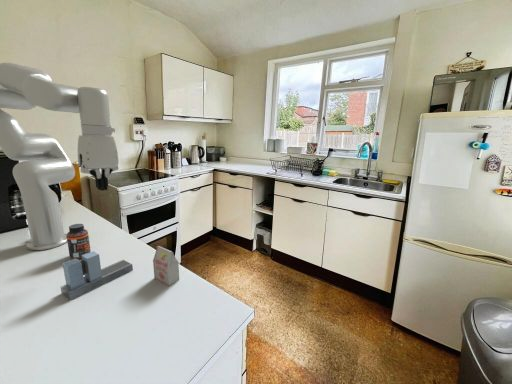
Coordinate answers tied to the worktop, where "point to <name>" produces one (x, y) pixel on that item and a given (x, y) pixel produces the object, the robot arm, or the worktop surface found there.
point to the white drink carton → (165, 266)
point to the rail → (81, 285)
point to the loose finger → (91, 265)
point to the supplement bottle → (78, 241)
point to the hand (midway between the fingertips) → (102, 189)
